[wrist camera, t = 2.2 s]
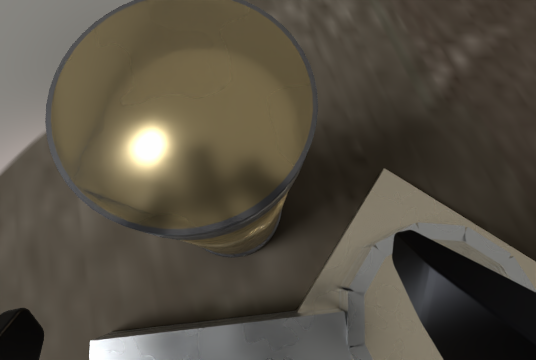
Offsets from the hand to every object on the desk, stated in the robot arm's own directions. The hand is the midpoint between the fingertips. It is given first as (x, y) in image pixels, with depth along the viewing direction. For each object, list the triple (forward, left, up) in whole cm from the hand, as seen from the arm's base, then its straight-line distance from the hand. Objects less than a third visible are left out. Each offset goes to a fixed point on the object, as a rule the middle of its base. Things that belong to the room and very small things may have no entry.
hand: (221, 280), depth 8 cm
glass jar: (+2, -3, -10) cm, 11 cm away
